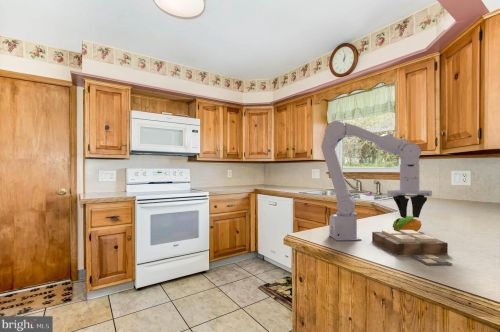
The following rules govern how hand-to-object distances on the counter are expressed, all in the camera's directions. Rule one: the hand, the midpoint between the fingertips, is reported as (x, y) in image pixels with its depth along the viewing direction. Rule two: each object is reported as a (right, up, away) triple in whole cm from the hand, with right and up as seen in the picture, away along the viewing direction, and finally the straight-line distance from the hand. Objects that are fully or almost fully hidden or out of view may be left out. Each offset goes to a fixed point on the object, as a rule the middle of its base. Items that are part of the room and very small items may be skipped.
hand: (409, 217), depth 87 cm
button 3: (0, -7, 0) cm, 7 cm away
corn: (+8, -10, +13) cm, 18 cm away
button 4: (0, -7, -6) cm, 9 cm away
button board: (-3, -9, -3) cm, 10 cm away
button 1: (-6, -7, 0) cm, 9 cm away
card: (-4, -9, -15) cm, 18 cm away
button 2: (-6, -7, -7) cm, 11 cm away
